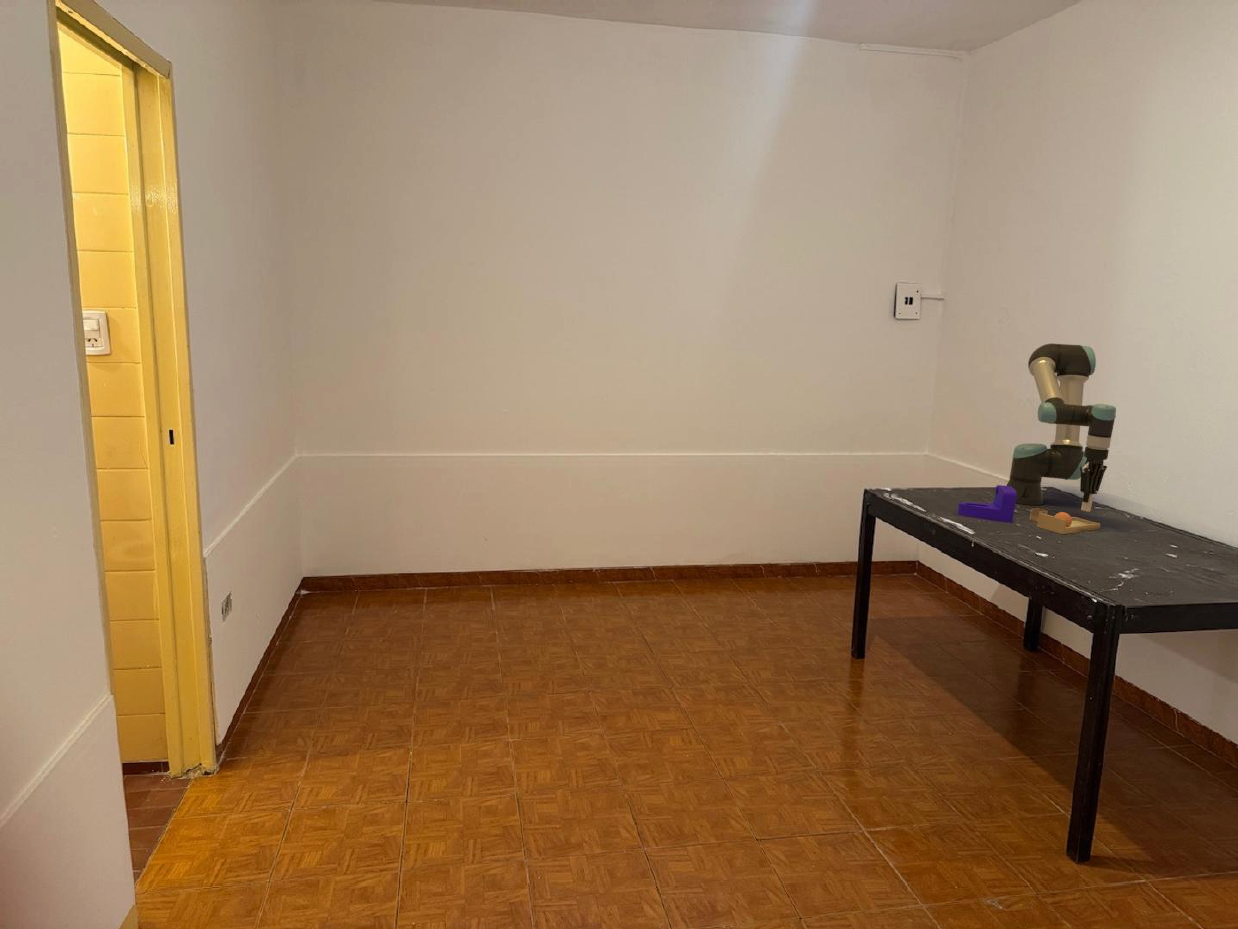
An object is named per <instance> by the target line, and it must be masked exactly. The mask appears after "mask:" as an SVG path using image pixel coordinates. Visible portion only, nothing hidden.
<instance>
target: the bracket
mask: <svg viewBox="0 0 1238 929" xmlns="http://www.w3.org/2000/svg"><path fill="white" fill-rule="evenodd" d="M1016 496H1017V493H1016V490H1015V489H1014V488H1012V487H1011V486H1007V485H1001V484H997V485H996V486H995V492H994V497H993V502H989V503H988V502H962V501H960V502H959V503H958V507H957V515H958V516H963V517H969V518H975V519H976V518H977V519H981V520H988V521H995V522H1001V523H1002V522H1004V523H1010V524H1011V523H1013V521H1014V515H1015V509H1016V508H1015V507H1016V504H1017V503H1016Z"/></svg>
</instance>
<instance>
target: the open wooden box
mask: <svg viewBox="0 0 1238 929" xmlns="http://www.w3.org/2000/svg"><path fill="white" fill-rule="evenodd" d="M1039 513H1043V514H1047V515H1048V514H1049V513H1048V510H1045V509H1042V508H1039V507H1038V508H1037V507H1036V508H1031V509H1030V513H1029V520H1030V521H1033V522H1037V523H1038V517H1039Z"/></svg>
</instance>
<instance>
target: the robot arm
mask: <svg viewBox="0 0 1238 929" xmlns="http://www.w3.org/2000/svg"><path fill="white" fill-rule="evenodd" d="M1027 365H1028V371H1029V373H1030V375H1031V376H1032V377H1033V378H1034V381H1035V384H1036V389H1037V392H1038V395H1039V399H1040V402H1041V403H1040V404H1039V406H1038V409H1037V419H1038V421H1039V422H1040V423H1043V424H1051V425H1052V424H1053V425H1056V426H1055V427H1056V428H1055V435H1054V441H1053V442H1052V443H1051V444H1050V446H1049V447H1050V448H1048V446H1047V445H1046V444H1043V443H1021V444H1018V445H1016V446H1015V447H1014V450H1013V454H1012V461H1011V466H1010V467H1011V468H1010V473H1009V480H1008V482H1007V484H1006V486H1011V487H1012V488H1014V489H1015V490H1016V493H1017V496H1016V503H1015V504H1021V505H1030V506H1038V505H1039V506H1040V505H1042V504H1044V503H1043V502H1044V496H1043V490H1042V478H1047V479H1048V478H1049V479H1057V480H1059V479H1060V480H1065V481H1067V480H1068V481H1069V480H1073V481H1077V480H1079V479H1080V486H1079V488H1080V489H1079V490H1080V492H1081V493H1082V494H1083V496H1082V503H1081V508H1080V509H1081V511H1083V512H1088V513H1090V512H1091V509H1092V505H1093V500H1094V496H1095V495H1097V494H1098V492H1099V490H1100V487H1101V484H1102V481H1103V479H1104V475H1105V473H1106V471H1107V468H1108V466H1107V465H1104V463H1105V462H1104V461H1106V460H1108V458H1109V452H1110V450H1109V448H1110V446H1111V441H1112V435H1113V434H1112V433H1113V429H1114V426H1115V425H1114V424H1115V419H1116V418H1117V417H1116V416H1117V415H1116V414H1117V413H1116V412H1117V408H1116V406H1115V405H1111V404H1104V403H1095V404H1094V405H1091V404H1087V405H1083V400H1084V399H1083V397H1084V388H1085V386H1084V385H1085V383H1086V382H1087V381H1089V379H1090V378H1089V377H1090V376H1092V375H1093V374H1094V373H1095V370H1096V369H1095V368H1096V365H1097V360H1096V353H1095V351H1094V350H1093V348H1092V347H1091V346H1087V345H1081V344H1065V343H1064V344H1063V343H1046V344H1043V345H1041V346H1039V347H1037V348H1035V350H1034V351H1033V352H1032V353H1031V355H1030V356H1029V359H1028V362H1027ZM1081 427H1087V428H1088V429H1087V430H1088V432H1087V437H1086V443H1085V445H1086V447H1085V448H1083V447H1084V446H1083V445H1082V444H1081V443H1080V433H1081ZM1083 449H1084V451H1083Z"/></svg>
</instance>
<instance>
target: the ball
mask: <svg viewBox="0 0 1238 929" xmlns="http://www.w3.org/2000/svg"><path fill="white" fill-rule="evenodd" d="M1053 516H1054V517H1057V518H1061V519H1065V520H1067V522H1066V527H1069V526H1070V525H1071V523H1072V518H1071V517H1072V516H1071V515H1070V514H1069V513H1067V512H1063V511H1060V512H1058V513H1056V514H1055V515H1053Z"/></svg>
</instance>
